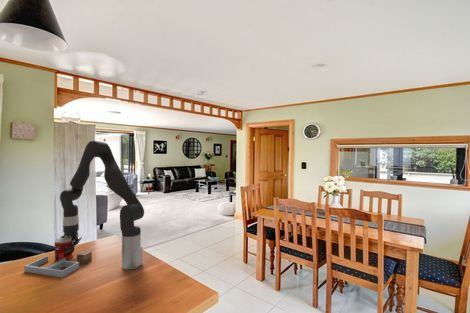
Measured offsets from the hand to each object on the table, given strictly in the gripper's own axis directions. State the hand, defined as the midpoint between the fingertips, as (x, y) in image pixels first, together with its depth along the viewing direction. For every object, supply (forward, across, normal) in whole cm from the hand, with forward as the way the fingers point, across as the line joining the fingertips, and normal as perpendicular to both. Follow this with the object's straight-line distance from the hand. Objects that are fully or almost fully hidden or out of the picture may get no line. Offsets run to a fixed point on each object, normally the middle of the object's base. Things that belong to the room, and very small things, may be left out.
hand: (71, 252), depth 141 cm
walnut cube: (+2, -14, +5) cm, 14 cm away
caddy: (+2, -6, +15) cm, 16 cm away
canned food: (+2, 0, +5) cm, 5 cm away
